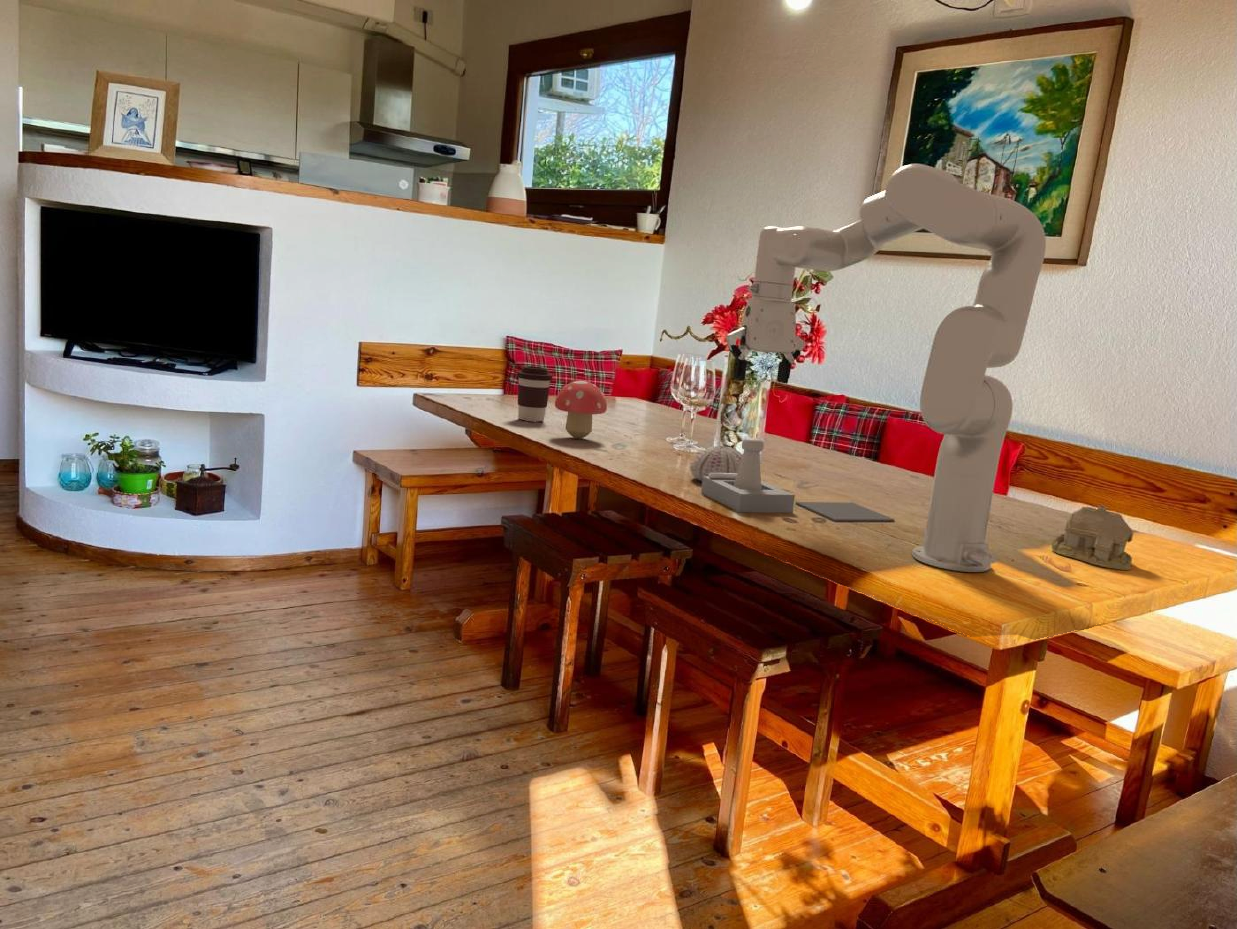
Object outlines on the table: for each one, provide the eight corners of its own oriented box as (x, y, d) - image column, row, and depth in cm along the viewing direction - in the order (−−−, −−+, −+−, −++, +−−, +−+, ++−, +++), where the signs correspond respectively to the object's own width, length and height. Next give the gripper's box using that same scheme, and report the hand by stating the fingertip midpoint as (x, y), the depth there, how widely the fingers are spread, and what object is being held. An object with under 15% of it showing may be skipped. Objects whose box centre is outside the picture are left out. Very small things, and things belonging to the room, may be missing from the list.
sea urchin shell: (736, 477, 228) (740, 442, 226) (759, 490, 215) (763, 454, 213) (680, 474, 224) (684, 439, 223) (700, 488, 211) (705, 450, 210)
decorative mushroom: (541, 434, 259) (546, 377, 257) (580, 433, 268) (586, 377, 266) (574, 444, 250) (579, 384, 247) (614, 442, 259) (620, 384, 256)
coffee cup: (555, 422, 284) (560, 369, 282) (534, 424, 276) (539, 370, 273) (527, 416, 289) (531, 364, 287) (506, 418, 281) (510, 365, 278)
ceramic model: (1141, 564, 182) (1151, 511, 180) (1124, 574, 174) (1135, 518, 172) (1061, 545, 191) (1070, 494, 189) (1041, 554, 182) (1051, 500, 181)
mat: (894, 521, 197) (894, 519, 197) (834, 521, 191) (834, 519, 191) (852, 504, 209) (852, 502, 209) (795, 504, 204) (795, 502, 204)
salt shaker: (759, 507, 197) (767, 442, 195) (730, 503, 198) (737, 438, 196) (760, 501, 203) (768, 438, 201) (732, 497, 204) (740, 434, 202)
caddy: (792, 512, 196) (795, 488, 195) (738, 512, 191) (741, 488, 190) (752, 493, 210) (754, 471, 209) (701, 492, 206) (703, 470, 205)
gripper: (742, 289, 187) (731, 381, 190) (821, 298, 193) (808, 386, 196) (723, 287, 193) (712, 376, 196) (800, 295, 200) (788, 381, 203)
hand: (760, 381), depth 196 cm, fingers open, 9 cm apart
